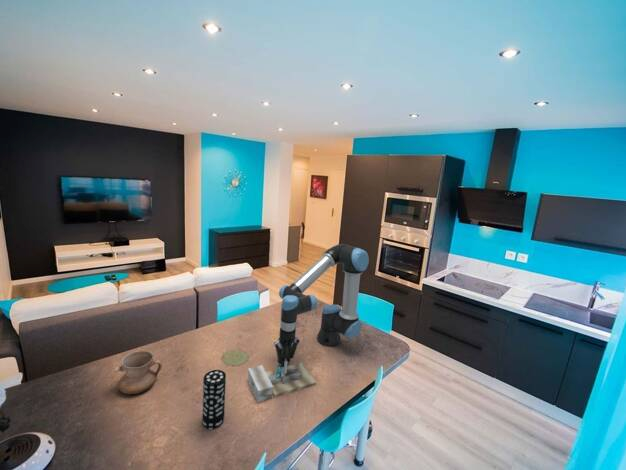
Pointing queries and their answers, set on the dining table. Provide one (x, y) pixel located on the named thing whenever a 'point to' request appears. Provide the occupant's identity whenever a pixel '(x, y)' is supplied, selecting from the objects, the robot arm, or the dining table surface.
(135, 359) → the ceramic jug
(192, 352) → the dining table surface
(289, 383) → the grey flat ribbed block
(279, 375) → the bolt
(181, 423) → the dining table surface
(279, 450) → the dining table surface
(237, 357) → the sand dollar
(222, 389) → the white-spotted black cylinder
